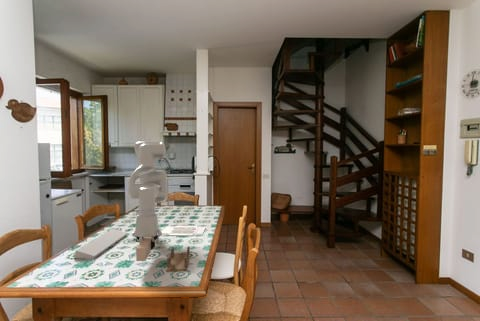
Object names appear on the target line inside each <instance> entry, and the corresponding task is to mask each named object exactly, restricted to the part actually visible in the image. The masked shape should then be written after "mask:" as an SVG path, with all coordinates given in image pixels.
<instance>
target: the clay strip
mask: <svg viewBox="0 0 480 321" xmlns="http://www.w3.org/2000/svg"><path fill="white" fill-rule="evenodd" d="M151 241H152V239H151V237H144V238H143V239H142V241H141V242H138V243H139V244H138V245H137V246H136V249H135V254H136V256H135V259H136V260H135V261H136V262H146V261H147V259H148V258H149V256H150V254H151V252H152V250H151ZM157 241H158V239H156V240H155V244H156V243H157Z"/></svg>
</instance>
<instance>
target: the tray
mask: <svg viewBox="0 0 480 321" xmlns="http://www.w3.org/2000/svg"><path fill="white" fill-rule="evenodd" d="M206 228H207V227H203V226H202V227H201V226H199V225H189V224H188V223H185V222H180V223H179V224H178V225H175V226H165V228H164V229H163V230H161V232H162V235H168V236H187V237H189V236H194V235H203V234H204V232H205V230H206Z"/></svg>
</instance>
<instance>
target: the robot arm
mask: <svg viewBox="0 0 480 321" xmlns="http://www.w3.org/2000/svg"><path fill="white" fill-rule="evenodd" d="M133 146H134V152H135V156H136V158H137V161H138V167H136V169H135V170H133V172H132V173H131V175H130V176H129V179H128V196H129V198H130V199H132V200H137V202H138V209H135V213H137V215H136V220H135V228H134V229H135V230H134V231H132V233H131V236H133V237H134V238H135V239H136V241H137V242H138V243H140V242H141V241H142V239H143V238H144V237H151V239H152V241H151V251H152V250H154V248H155V246H156V243H155V240H156V239H157V240H158V239H159V238H160V237H161V236H162V235H163V234H162V230H161V229H160V228H159V220H158V215H157V213H156V204H157V203H158V204H159V203H165V202H166V201H167V200H168V176H167V172H166V171H165V170H163V169H155V168H156V159H164V158H165V157H166V154H167V150H166V145H165V143H164V142H163V141H150V140H149V141H146V140H145V141H144V140H143V141H137V142H135V143H134V145H133ZM138 179H139V183H136V181H137V180H138Z"/></svg>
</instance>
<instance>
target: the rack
mask: <svg viewBox="0 0 480 321" xmlns="http://www.w3.org/2000/svg"><path fill="white" fill-rule="evenodd" d="M190 250H191V248H190V246H187V249H186V252H175V247H174V246H171V249H170V254H168V255H167V258H166V269H165V271H166V272H186V271H187V269H188V265H189V261H190V258H191V257H190V256H191V251H190Z"/></svg>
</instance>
